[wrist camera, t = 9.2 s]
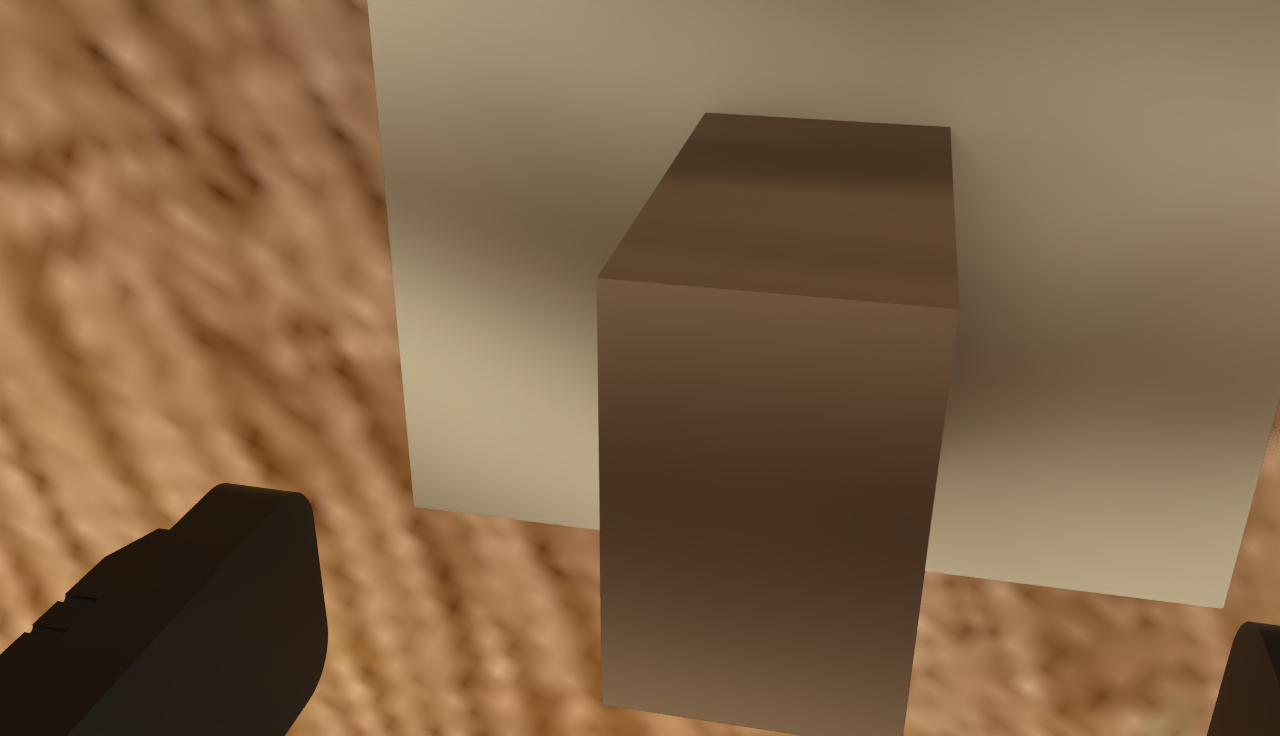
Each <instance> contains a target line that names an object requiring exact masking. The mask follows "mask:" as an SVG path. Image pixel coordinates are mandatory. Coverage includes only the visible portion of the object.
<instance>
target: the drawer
mask: <svg viewBox="0 0 1280 736" xmlns="http://www.w3.org/2000/svg"><path fill="white" fill-rule="evenodd" d="M367 1H368V12H369V23H370V34H371V45H372V55H373V66H374V77H375V88H376V99H377V109H378V120H379V131H380V142H381V153H382V163H383V174H384V185H385V196H386V207H387V217H388V228H389V239H390V250H391V261H392V272H393V282H394V293H395V304H396V315H397V326H398V336H399V347H400V358H401V369H402V380H403V390H404V401H405V412H406V423H407V434H408V444H409V455H410V466H411V477H412V488H413V498H414V507H421V508H428V509H436V510H444V511H452V512H460V513H468V514H476V515H484V516H492V517H500V518H508V519H516V520H524V521H532V522H539V523H547V524H555V525H563V526H571V527H579V528H587V529H595V530H600V597H601V677H602V705H607V706H613V707H620V708H626V709H633V710H639V711H646V712H652V713H659V714H665V715H672V716H678V717H685V718H691V719H698V720H704V721H711V722H717V723H724V724H730V725H737V726H743V727H750V728H756V729H763V730H769V731H776V732H782V733H789V734H795V735H802V736H903V732H904V725H905V717H906V710H907V702H908V695H909V687H910V679H911V672H912V664H913V657H914V649H915V642H916V634H917V626H918V619H919V611H920V604H921V596H922V589H923V581H924V573H925V571H928V572H936V573H944V574H952V575H960V576H968V577H976V578H984V579H992V580H999V581H1007V582H1015V583H1023V584H1031V585H1039V586H1047V587H1055V588H1063V589H1071V590H1079V591H1087V592H1095V593H1103V594H1111V595H1118V596H1126V597H1134V598H1142V599H1150V600H1158V601H1166V602H1174V603H1182V604H1190V605H1198V606H1206V607H1214V608H1222V609H1223V607H1224V603H1225V600H1226V596H1227V592H1228V588H1229V585H1230V581H1231V577H1232V574H1233V570H1234V566H1235V563H1236V559H1237V555H1238V551H1239V548H1240V544H1241V540H1242V537H1243V533H1244V529H1245V525H1246V522H1247V518H1248V514H1249V511H1250V507H1251V503H1252V499H1253V496H1254V492H1255V488H1256V485H1257V481H1258V477H1259V473H1260V470H1261V466H1262V462H1263V459H1264V455H1265V451H1266V447H1267V444H1268V440H1269V436H1270V433H1271V429H1272V425H1273V421H1274V418H1275V414H1276V410H1277V407H1278V403H1279V399H1280V0H367Z"/></svg>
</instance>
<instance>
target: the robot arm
mask: <svg viewBox="0 0 1280 736" xmlns="http://www.w3.org/2000/svg"><path fill="white" fill-rule="evenodd" d="M65 595H66V596H65V600H64V602H59V601H57V602H56V603H55V604H54V605H53V606H52V607H51V608H50V609H49V610H48V611H47V612H45V613H44V614H43V615H42V616H41V617H40V618H39V619H38V620H37V621H36V622H35V623H34V624H33V629H32V631H31V633H26V632H24V633H23V634H22V635H21V636H20V637H19V638H18V639H17V640H15V641H14V642H13V643H12V644H11V645H10V646H9V647H8V648H7V649H6V650H5V651H4V652H3V653H1V654H0V736H285V735H286V733H287V732H288V730H289V729H290V727H291V726H292V724H293V723H294V722H295V720H296V719H297V717H298V716H299V714H300V713H301V711H302V710H303V708H304V707H305V705H306V704H307V703H308V701H309V700H310V698H311V696H312V695H313V693H314V691H315V689H316V687H317V685H318V682H319V680H320V677H321V674H322V671H323V667H324V663H325V659H326V653H327V644H328V625H327V617H326V609H325V602H324V594H323V586H322V578H321V570H320V563H319V555H318V547H317V539H316V531H315V524H314V517H313V511H312V508H311V505H310V503H309V501H308V499H307V498H306V497H305V496H304V495H303V494H301V493H297V492H290V491H282V490H275V489H267V488H260V487H252V486H245V485H237V484H230V483H222V484H219V485H217V486H215V487H214V488H213V489H211V490H210V491H209V492H208V493H207V494H206V495H205V496H204V497H203V498H202V499H201V500H200V501H199V502H198V503H197V504H196V505H195V506H194V507H193V508H192V509H191V510H189V511H188V512H187V513H186V514H185V515H184V516H183V517H182V518H181V519H180V520H179V521H178V522H177V523H176V524H175V525H174V526H173V527H172V528H171V529H170V530H166V529H157V530H155V531H153V532H151V533H149V534H147V535H146V536H144V537H142V538H140V539H138V540H136V541H134V542H132V543H131V544H129V545H127V546H125V547H123V548H121V549H119V550H117V551H115V552H114V553H112V554H110V555H108V556H106V557H104V558H103V559H102V560H101V561H100V562H99V563H98V564H97V565H96V566H95V567H94V568H93V569H92V570H90V571H89V572H88V573H87V574H86V575H85V576H84V577H83V578H82V579H81V580H80V581H79V582H78V583H77V584H75V585H74V586H73V587H72V588H71V589H70V590H69V591H68V592H67V593H66V594H65ZM1207 736H1280V626H1278V625H1271V624H1263V623H1256V622H1245V623H1244V624H1243V625H1242V626H1241V627H1240V628H1239V630H1238V632H1237V634H1236V636H1235V638H1234V641H1233V644H1232V647H1231V651H1230V655H1229V658H1228V662H1227V665H1226V669H1225V672H1224V676H1223V680H1222V683H1221V687H1220V690H1219V694H1218V698H1217V701H1216V705H1215V708H1214V712H1213V716H1212V719H1211V723H1210V726H1209V730H1208V733H1207Z"/></svg>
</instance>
